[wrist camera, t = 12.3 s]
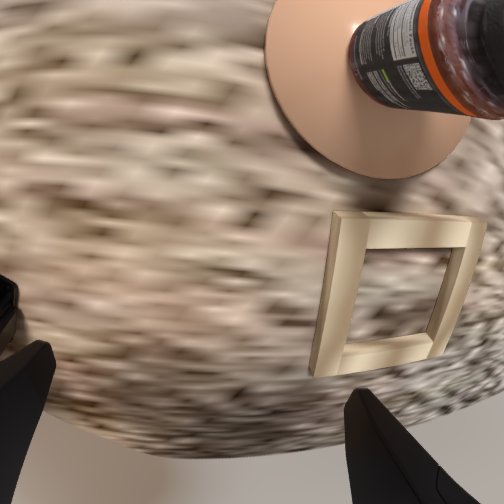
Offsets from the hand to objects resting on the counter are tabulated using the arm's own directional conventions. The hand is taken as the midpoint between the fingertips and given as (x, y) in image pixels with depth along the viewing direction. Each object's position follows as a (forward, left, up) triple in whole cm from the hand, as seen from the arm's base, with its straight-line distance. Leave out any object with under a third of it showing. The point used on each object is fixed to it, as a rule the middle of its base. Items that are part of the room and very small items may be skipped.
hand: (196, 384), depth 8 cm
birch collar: (+16, +2, -13) cm, 20 cm away
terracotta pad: (+5, +15, -13) cm, 20 cm away
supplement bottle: (+5, +14, -12) cm, 19 cm away
